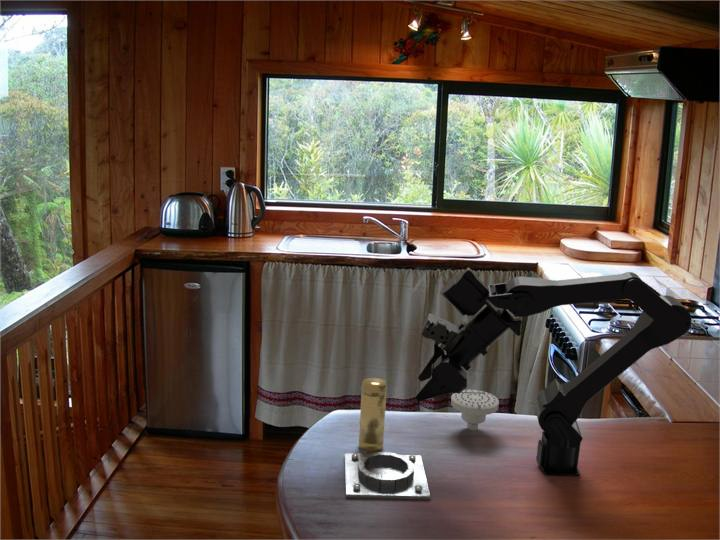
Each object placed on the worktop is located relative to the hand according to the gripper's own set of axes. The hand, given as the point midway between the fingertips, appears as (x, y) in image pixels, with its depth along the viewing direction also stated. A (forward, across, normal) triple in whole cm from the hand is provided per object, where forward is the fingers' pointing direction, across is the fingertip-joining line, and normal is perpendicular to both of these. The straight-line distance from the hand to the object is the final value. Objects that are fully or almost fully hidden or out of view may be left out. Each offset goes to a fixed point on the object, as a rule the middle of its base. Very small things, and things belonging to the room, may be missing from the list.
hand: (418, 389), depth 140 cm
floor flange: (+12, +10, +5) cm, 17 cm away
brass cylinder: (+15, 0, +2) cm, 15 cm away
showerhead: (+2, -13, +17) cm, 21 cm away
